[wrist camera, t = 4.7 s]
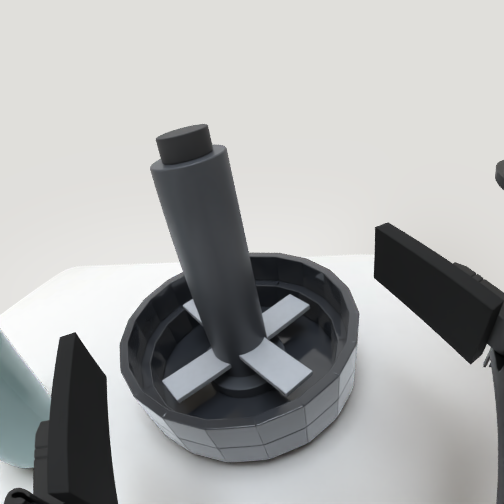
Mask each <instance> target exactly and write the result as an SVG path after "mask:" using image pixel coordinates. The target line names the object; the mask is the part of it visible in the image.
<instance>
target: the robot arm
mask: <svg viewBox="0 0 504 504" xmlns="http://www.w3.org/2000/svg"><path fill="white" fill-rule="evenodd" d="M374 278H375V279H376V280H377V281H378V282H379V283H381V284H382V285H383V286H384V287H385V288H387V289H388V290H389V291H390V292H391V293H392V294H393V295H395V296H396V297H397V298H398V299H399V300H400V301H402V302H403V303H404V304H405V305H406V306H407V307H408V308H410V309H411V310H412V311H413V312H414V313H415V314H416V315H417V316H419V317H420V318H421V319H422V320H423V321H424V322H425V323H426V324H428V325H429V326H430V327H431V328H432V329H433V330H434V331H435V332H436V333H437V334H439V335H440V336H441V337H442V338H443V339H444V340H445V341H446V342H447V343H448V344H449V345H450V346H452V347H453V348H454V349H455V350H456V351H457V352H458V353H459V354H460V355H461V356H462V357H463V358H464V359H465V360H466V361H467V362H468V363H470V364H472V363H473V362H474V361H475V360H476V359H477V358H479V357H480V356H481V355H482V354H483V351H484V349H485V347H486V345H487V344H488V345H489V346H490V347H491V349H490V351H489V353H488V355H487V357H486V359H485V361H484V366H483V367H486V366H487V364H488V362H489V360H490V361H491V363H490V365H489V367H492V374H493V382H494V390H495V399H496V411H497V426H498V488H497V502H496V504H504V293H503V292H502V291H501V290H499V289H498V288H497V287H495V286H494V285H492V284H491V283H489V282H488V281H487V280H484V279H483V278H482V277H481V276H480V275H478V274H477V275H476V273H475V272H474V271H472V270H471V269H469V268H468V267H466V266H464V265H461V264H458V263H453V264H452V263H451V262H449V261H448V260H447V259H445V258H444V257H442V256H440V255H439V254H437V253H436V252H434V251H433V250H431V249H430V248H428V247H427V246H425V245H423V244H422V243H420V242H419V241H417V240H416V239H414V238H413V237H411V236H409V235H408V234H406V233H405V232H403V231H401V230H399V229H398V228H396V227H394V226H393V225H391V224H390V223H385V224H383V225H380V226H377V227H375V260H374ZM34 458H35V460H34V475H33V494H32V493H30V492H29V491H27V490H25V489H22V488H15V489H13V490H11V491H10V492H9V493H8V494H7V496H6V498H5V502H4V504H118V500H117V494H116V488H115V481H114V473H113V465H112V456H111V447H110V436H109V422H108V406H107V377H106V375H105V374H104V373H103V371H102V370H101V369H100V367H99V366H98V365H97V363H96V362H95V360H94V359H93V358H92V356H91V355H90V353H89V352H88V350H87V349H86V347H85V346H84V344H83V343H82V341H81V340H80V338H79V337H78V335H77V334H76V332H75V333H72V334H69V335H66V336H62V337H60V340H59V345H58V351H57V357H56V364H55V371H54V378H53V386H52V394H51V404H50V415H49V420H47V421H42V422H40V425H39V427H38V429H37V432H36V434H35V450H34Z"/></svg>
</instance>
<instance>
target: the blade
mask: <svg viewBox="0 0 504 504" xmlns="http://www.w3.org/2000/svg"><path fill="white" fill-rule="evenodd" d="M156 142H157V146H158V150H159V153H160V157H161V159H159V160H158V161H156V162H155V163H153V164H152V165H151V167H150V170H151V173H152V177H153V180H154V184H155V187H156V190H157V193H158V197H159V200H160V203H161V206H162V209H163V213H164V216H165V219H166V222H167V225H168V228H169V231H170V234H171V238H172V240H173V244H174V246H175V249H176V252H177V255H178V258H179V261H180V264H181V267H182V270H183V273H184V276H185V278H186V281H187V284H188V287H189V290H190V292H191V295H192V298H193V299H192V300H190V301H188V302H187V303H185V304H184V305H183V308H184V309H185V310H186V311H187V312H188V313H189V314H190V315H191V316H192V317H193V318H194V319H195V320H197V321H198V322H199V323H200V324H201V325H202V326H203V327H204V330H205V332H206V335H207V337H208V340H209V342H210V345H211V346H210V347H209V349H208V351H207V352H205V353H204V354H202V355H201V356H199V357H198V358H196V359H195V360H193V361H192V362H190V363H189V364H187V365H186V366H184V367H183V368H181V369H179V370H178V371H176V372H175V373H173V374H172V375H170V376H169V377H167V378H165V379H164V380H162V382H163V383H164V385H165V386H166V388H167V389H168V390H169V391H170V393H171V394H172V395H173V397H174V398H175V399H176V400H177V402H178V403H180V402H182V401H184V400H185V399H187V398H188V397H190V396H191V395H193V394H194V393H196V392H197V391H199V390H200V389H202V388H203V387H204V386H206V385H207V384H209V383H211V384H212V385H213V387H214V388H215V389H216V390H218V391H219V392H221V393H223V394H225V395H227V396H230V397H236V398H248V397H254V396H257V395H260V394H262V393H265V392H266V391H268V390H270V389H271V388H273V387H275V388H276V389H277V390H278V391H280V392H281V393H282V394H283V395H285V396H286V397H288V396H289V395H290V394H291V393H292V392H294V391H295V390H296V389H297V388H298V387H299V386H301V385H302V384H303V383H304V382H305V381H306V380H307V379H309V378H310V377H311V376H312V375H313V372H312V370H310V369H309V368H307V367H306V366H305V365H303V364H302V363H300V362H299V361H297V360H296V359H294V358H293V357H292V356H290V355H289V354H287V353H286V352H285V347H284V345H283V343H282V341H281V340H280V339H279V338H278V337H277V336H276V335H277V334H278V333H279V332H281V331H282V330H283V329H285V328H286V327H287V326H288V325H290V324H291V323H292V322H294V321H295V320H296V319H297V318H299V317H300V316H301V315H303V314H304V313H305V312H306V311H308V310H309V309H310V305H309V304H307V303H305V302H303V301H302V300H300V299H298V298H296V297H294V296H293V295H291V294H289V295H288V296H286V297H285V298H283V299H282V300H281V301H279V302H278V303H276V304H275V305H274V306H272V307H271V308H269V309H268V310H267V311H265V312H264V313H262V311H261V307H260V302H259V297H258V293H257V288H256V284H255V279H254V274H253V270H252V265H251V260H250V256H249V251H248V247H247V242H246V237H245V233H244V228H243V223H242V219H241V214H240V210H239V205H238V200H237V195H236V191H235V186H234V181H233V177H232V172H231V167H230V163H229V158H228V153H227V149H226V147H225V146H223V145H212V142H211V138H210V133H209V129H208V125H206V124H200V125H193V126H188V127H184V128H180V129H177V130H173V131H171V132H168V133H165V134H163V135H160V136H159V137H157V138H156Z"/></svg>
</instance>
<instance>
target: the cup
mask: <svg viewBox="0 0 504 504" xmlns="http://www.w3.org/2000/svg"><path fill="white" fill-rule="evenodd" d="M50 404H51V396H50V395H49V393H48V392H47V390H46V389H45V387H44V386H43V384H42V383H41V382H40V380H39V379H38V378H37V376H36V375H35V374H34V372H33V371H32V370H31V369H30V367H29V366H28V365H27V363H26V362H25V361H24V360H23V358H22V357H21V356H20V354H19V353H18V352H17V350H16V349H15V348H14V346H13V345H12V344H11V342H10V341H9V340H8V338H7V337H6V335H5V334H4V333H3V331H2V330H1V329H0V460H1V461H3V462H5V463H7V464H9V465H12V466H16V467H20V468H34V460H35V458H34V450H35V434H36V432H37V429H38V427H39V425H40V422H42V421H47V420H49V415H50Z"/></svg>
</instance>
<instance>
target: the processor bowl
mask: <svg viewBox="0 0 504 504" xmlns="http://www.w3.org/2000/svg"><path fill="white" fill-rule="evenodd" d="M249 256H250V260H251V265H252V270H253V274H254V279H255V284H256V288H257V293H258V297H259V302H260V307H261V311H262V313H264V312H265V311H267V310H268V309H269V308H271V307H272V306H274V305H275V304H276V303H278V302H279V301H281V300H282V299H283V298H285V297H286V296H288V295H289V294H291V295H293V296H294V297H296V298H298V299H300V300H302V301H303V302H305V303H307V304H309V305H310V309H309V310H308V311H306V312H305V313H304V314H303V315H301V316H300V317H299V318H297V319H296V320H295V321H294V322H292V323H291V324H290V325H288V326H287V327H286V328H285V329H283V330H282V331H281V332H279V333H278V334H277V335H276V336H277V337H278V338H279V339H280V340H281V341H282V343H283V345H284V347H285V352H286V353H287V354H289V355H290V356H292V357H293V358H294V359H296V360H297V361H299V362H300V363H302V364H303V365H305V366H306V367H307V368H309V369H310V370H312V372H313V375H312V376H311V377H310V378H309V379H307V380H306V381H305V382H304V383H303V384H302V385H301V386H299V387H298V388H297V389H296V390H295V391H294V392H292V393H291V394H290V395H289V396H288V397H286V396H285V395H283V394H282V393H281V392H280V391H278V390H277V389H276V388H275V387H273V388H271V389H270V390H268V391H266V392H265V393H262V394H260V395H257V396H254V397H248V398H236V397H230V396H227V395H225V394H223V393H221V392H219V391H218V390H216V389H215V388H214V387H213V385H212V384H211V383H209V384H207V385H206V386H204V387H203V388H202V389H200V390H199V391H197V392H196V393H194V394H193V395H191V396H190V397H188V398H187V399H185V400H184V401H182V402H180V403H178V402H177V400H176V399H175V398H174V397H173V395H172V394H171V393H170V391H169V390H168V389H167V388H166V386H165V385H164V383H163V382H162V380H164V379H165V378H167V377H169V376H170V375H172V374H173V373H175V372H176V371H178V370H179V369H181V368H183V367H184V366H186V365H187V364H189V363H190V362H192V361H193V360H195V359H196V358H198V357H199V356H201V355H202V354H204V353H205V352H207V351H208V349H209V347H210V346H211V345H210V342H209V340H208V337H207V335H206V332H205V330H204V327H203V326H202V325H201V324H200V323H199V322H198V321H197V320H195V319H194V318H193V317H192V316H191V315H190V314H189V313H188V312H187V311H186V310H185V309H184V308H183V305H184V304H185V303H187V302H188V301H190V300H192V299H193V298H192V295H191V292H190V290H189V287H188V284H187V281H186V278H185V276H184V273H183V272H182V273H180V274H178V275H176V276H175V277H173V278H171V279H169V280H167V281H166V282H165V283H163V284H162V285H161V286H160V287H159V288H157V289H156V290H155V291H154V292H152V293H151V294H150V295H149V296H148V297H146V298H145V299H144V300H143V302H142V303H141V304H140V306H139V307H138V308H137V309H136V311H135V312H134V313H133V315H132V316H131V317H130V319H129V320H128V323H127V325H126V328H125V331H124V334H123V336H122V339H121V342H120V368H121V373H122V375H123V377H124V379H125V381H126V383H127V385H128V386H129V388H130V390H131V392H132V394H133V396H134V397H135V399H136V400H137V401H138V402H139V404H140V405H141V406H142V407H143V409H144V410H145V411H146V412H147V414H148V415H149V416H150V417H151V419H152V420H153V421H154V422H155V423H156V425H157V426H158V427H159V428H160V429H161V430H162V432H163V433H164V434H165V435H166V436H168V437H169V438H171V439H172V440H173V441H175V442H176V443H178V444H179V445H180V446H182V447H183V448H185V449H186V450H188V451H189V452H192V453H193V454H197V455H200V456H204V457H208V458H212V459H216V460H220V461H224V462H245V461H257V460H268V459H271V458H274V457H276V456H279V455H281V454H284V453H286V452H289V451H291V450H294V449H296V448H298V447H301V446H303V445H305V444H307V443H309V442H310V441H312V440H313V439H314V438H315V437H316V436H317V435H319V434H320V433H321V432H322V431H323V430H324V429H325V428H327V427H328V426H329V425H330V424H331V423H332V422H333V421H334V420H335V419H336V418H337V417H338V415H339V414H340V412H341V410H342V408H343V406H344V405H345V403H346V401H347V399H348V397H349V395H350V393H351V391H352V389H353V385H354V376H355V366H356V354H357V341H358V326H359V311H358V309H357V306H356V304H355V302H354V299H353V297H352V294H351V292H350V290H349V288H348V287H347V286H346V285H345V284H344V283H343V282H342V281H341V280H340V279H339V278H338V277H337V276H336V275H335V274H334V273H333V272H332V271H331V270H329V269H327V268H325V267H323V266H321V265H319V264H317V263H315V262H313V261H310V260H308V259H306V258H301V257H296V256H291V255H287V254H282V253H249Z"/></svg>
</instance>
